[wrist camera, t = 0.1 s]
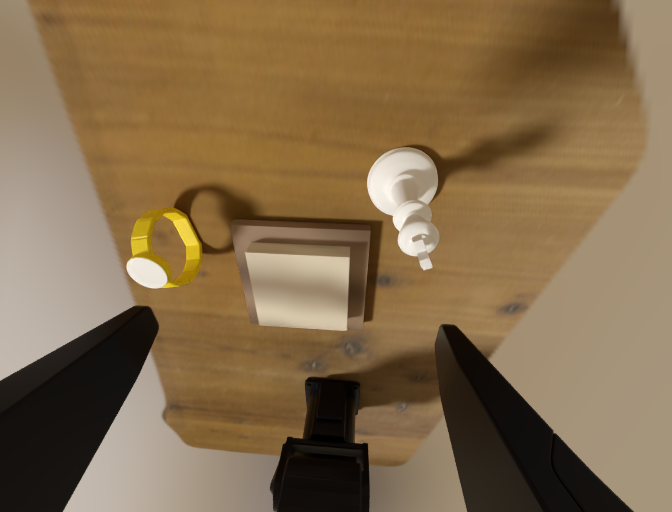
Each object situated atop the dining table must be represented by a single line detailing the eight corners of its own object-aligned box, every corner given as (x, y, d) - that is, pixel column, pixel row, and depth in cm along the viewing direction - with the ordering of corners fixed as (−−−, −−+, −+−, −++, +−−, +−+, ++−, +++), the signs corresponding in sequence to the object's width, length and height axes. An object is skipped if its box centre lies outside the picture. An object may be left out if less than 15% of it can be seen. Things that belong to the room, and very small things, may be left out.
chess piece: (426, 134, 20) (471, 194, 11) (445, 199, 22) (494, 287, 14) (356, 164, 21) (351, 237, 13) (381, 222, 23) (390, 315, 15)
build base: (362, 322, 30) (362, 343, 28) (254, 316, 30) (246, 335, 28) (370, 224, 24) (371, 241, 22) (233, 219, 24) (221, 234, 22)
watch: (217, 254, 27) (187, 303, 22) (189, 257, 27) (154, 307, 23) (184, 194, 23) (140, 237, 19) (153, 199, 24) (102, 243, 19)
